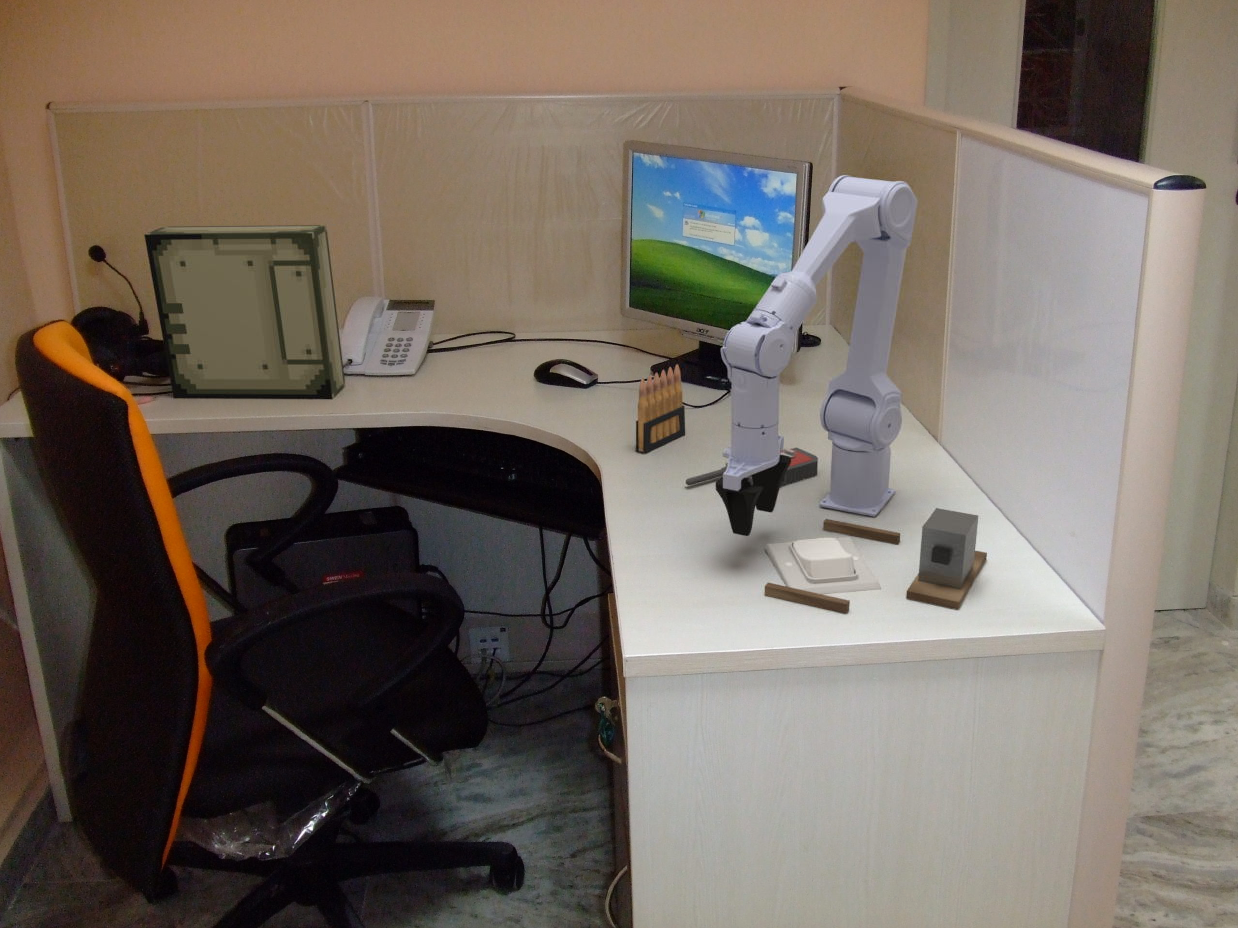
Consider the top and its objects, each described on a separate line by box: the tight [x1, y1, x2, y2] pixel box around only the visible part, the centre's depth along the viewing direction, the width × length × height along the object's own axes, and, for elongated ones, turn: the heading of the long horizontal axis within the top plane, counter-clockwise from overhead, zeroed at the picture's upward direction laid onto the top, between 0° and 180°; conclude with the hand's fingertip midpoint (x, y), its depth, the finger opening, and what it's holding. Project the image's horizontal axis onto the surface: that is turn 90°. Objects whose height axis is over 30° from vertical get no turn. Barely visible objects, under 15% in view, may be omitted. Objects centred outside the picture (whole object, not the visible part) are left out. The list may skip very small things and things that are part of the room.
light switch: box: [765, 536, 881, 595], centre depth 141 cm, size 11×4×13 cm
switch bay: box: [764, 518, 901, 614], centre depth 142 cm, size 21×10×1 cm, turn 151°
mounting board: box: [905, 550, 988, 611], centre depth 138 cm, size 14×6×1 cm, turn 151°
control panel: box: [144, 224, 346, 400], centre depth 208 cm, size 30×8×30 cm, turn 84°
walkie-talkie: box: [685, 447, 819, 488], centre depth 168 cm, size 9×4×20 cm
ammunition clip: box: [635, 363, 686, 455], centre depth 181 cm, size 11×2×12 cm, turn 140°
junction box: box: [918, 507, 979, 590], centre depth 136 cm, size 7×5×7 cm
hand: (753, 521), depth 146 cm, fingers open, 7 cm apart
